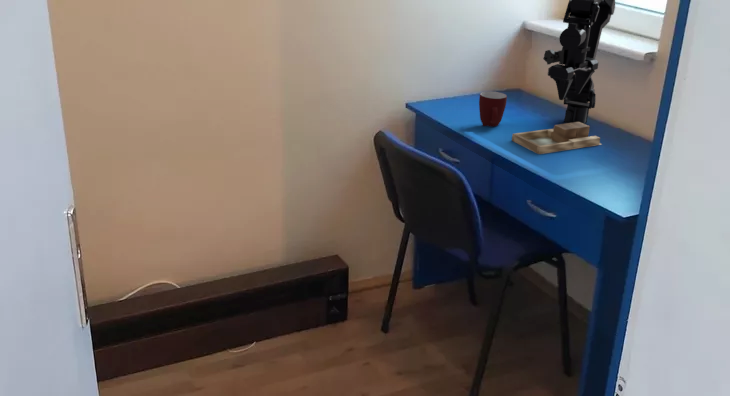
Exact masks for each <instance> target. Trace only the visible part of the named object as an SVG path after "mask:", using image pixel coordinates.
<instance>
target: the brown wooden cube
mask: <svg viewBox="0 0 730 396" xmlns="http://www.w3.org/2000/svg"><path fill="white" fill-rule="evenodd" d="M553 129H554V131H553V137H552V140H553V141H555V142H557V143H562V142H568V140H569V139H576V132H577V128H576V127H574V126H571V125H569V124H567V123H566V122H565V123H560V124H554V125H553Z"/></svg>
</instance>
